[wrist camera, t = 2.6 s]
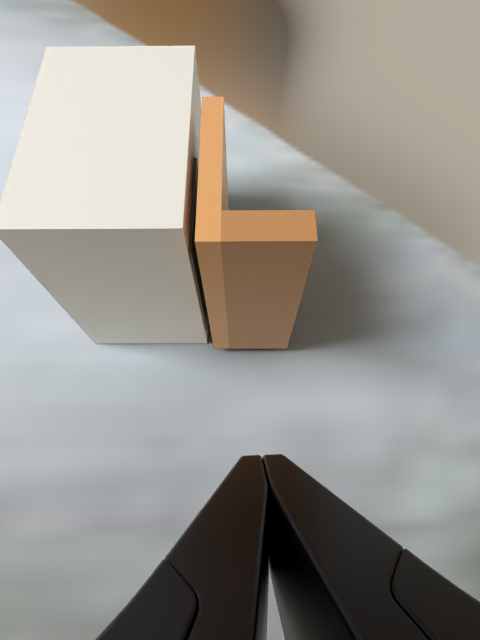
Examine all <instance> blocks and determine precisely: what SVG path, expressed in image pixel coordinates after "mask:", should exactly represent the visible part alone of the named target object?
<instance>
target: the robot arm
mask: <svg viewBox="0 0 480 640" xmlns="http://www.w3.org/2000/svg"><path fill="white" fill-rule="evenodd" d="M269 568H270V573H271V579H272V584H273V588H274V592H275V597H276V601H277V606H278V610H279V615H280V619H281V623H282V628H283V632H284V637H285V640H480V602H479V601H478V600H476V599H475V598H473V597H472V596H470V595H469V594H467V593H466V592H464V591H463V590H461V589H460V588H458V587H457V586H456V585H454V584H453V583H452V582H450V581H449V580H448V579H446V578H445V577H443V576H442V575H441V574H439V573H438V572H437V571H435V570H434V569H432V568H431V567H430V566H428V565H427V564H426V563H424V562H423V561H422V560H420V559H419V558H418V557H417V556H415V555H414V554H413V553H411V552H410V551H409V550H407V549H403V548H402V546H401V545H400V544H398V543H397V542H396V541H394V540H393V539H392V538H390V537H389V536H388V535H387V534H385V533H384V532H383V531H381V530H380V529H379V528H377V527H376V526H375V525H374V524H372V523H371V522H370V521H368V520H367V519H366V518H365V517H363V516H362V515H361V514H359V513H358V512H357V511H355V510H354V509H353V508H352V507H350V506H349V505H348V504H346V503H345V502H344V501H342V500H341V499H340V498H339V497H337V496H336V495H335V494H333V493H332V492H331V491H329V490H328V489H327V488H326V487H324V486H323V485H322V484H320V483H319V482H318V481H316V480H315V479H314V478H313V477H311V476H310V475H309V474H307V473H306V472H305V471H303V470H302V469H301V468H300V467H298V466H297V465H296V464H294V463H293V462H292V461H290V460H289V459H288V458H287V457H285V456H284V455H282V454H276V455H265V456H263V459H262V457H261V456H260V455H251V456H242V457H241V458H240V459H239V460H238V462H237V463H236V464H235V466H234V467H233V468H232V470H231V471H230V472H229V474H228V475H227V476H226V478H225V479H224V480H223V482H222V483H221V484H220V486H219V487H218V488H217V490H216V491H215V492H214V494H213V495H212V496H211V498H210V499H209V500H208V501H207V503H206V504H205V505H204V507H203V508H202V509H201V511H200V512H199V513H198V515H197V516H196V517H195V519H194V520H193V521H192V523H191V524H190V525H189V527H188V528H187V529H186V531H185V532H184V533H183V535H182V536H181V537H180V539H179V540H178V541H177V543H176V544H175V545H174V547H173V548H172V549H171V551H170V552H169V553H168V555H167V556H166V557H165V559H164V560H162V561H161V563H160V564H159V565H158V567H157V568H156V569H155V571H154V572H153V573H152V575H151V576H150V577H149V578H148V580H147V581H146V582H145V583H144V585H143V586H142V587H141V588H140V590H139V591H138V592H137V593H136V595H135V596H134V597H133V598H132V599H131V601H130V602H129V603H128V604H127V605H126V606H125V608H124V609H123V610H122V611H121V612H120V613H119V614H118V615H117V616H116V618H115V619H114V620H113V621H112V622H111V623H110V624H109V625H108V626H107V627H106V629H105V630H104V631H103V632H102V633H101V634H100V635H99V636H98V637H97V638H96V639H95V640H266V638H267V611H268V585H269Z"/></svg>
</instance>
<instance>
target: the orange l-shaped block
mask: <svg viewBox="0 0 480 640" xmlns="http://www.w3.org/2000/svg"><path fill="white" fill-rule="evenodd" d="M317 242H318V238H317V227H316V217H315V210H229V206H228V183H227V161H226V139H225V117H224V97H202V110H201V129H200V149H199V168H198V188H197V207H196V227H195V246H196V252H197V257H198V263H199V268H200V274H201V279H202V285H203V291H204V296H205V302H206V307H207V313H208V318H209V324H210V330H211V335H212V341H213V346H214V349H280V348H287V347H288V344H289V340H290V337H291V333H292V330H293V326H294V323H295V319H296V316H297V312H298V309H299V305H300V302H301V298H302V295H303V291H304V288H305V284H306V281H307V277H308V274H309V270H310V267H311V263H312V260H313V256H314V253H315V249H316V246H317Z"/></svg>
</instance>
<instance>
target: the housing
mask: <svg viewBox="0 0 480 640" xmlns="http://www.w3.org/2000/svg"><path fill="white" fill-rule="evenodd" d="M200 129H201V100H200V91H199V81H198V72H197V61H196V52H195V46H91V47H46V51H45V54H44V57H43V61H42V64H41V67H40V71H39V74H38V77H37V81H36V84H35V87H34V91H33V94H32V97H31V101H30V104H29V107H28V111H27V114H26V117H25V121H24V124H23V127H22V131H21V134H20V137H19V141H18V144H17V147H16V151H15V154H14V157H13V161H12V164H11V167H10V171H9V174H8V177H7V181H6V184H5V187H4V191H3V194H2V197H1V201H0V239H1V240H2V241H3V242H4V243H5V244H6V245H7V247H8V248H9V249H10V250H11V251H12V252H13V253H14V254H15V255H16V257H17V258H18V259H19V260H20V261H21V262H22V263H23V264H24V265H25V266H26V268H27V269H28V270H29V271H30V272H31V273H32V274H33V275H34V276H35V278H36V279H37V280H38V281H39V282H40V283H41V284H42V285H43V286H44V288H45V289H46V290H47V291H48V292H49V293H50V294H51V295H52V296H53V297H54V299H55V300H56V301H57V302H58V303H59V304H60V305H61V306H62V307H63V309H64V310H65V311H66V312H67V313H68V314H69V315H70V316H71V317H72V319H73V320H74V321H75V322H76V323H77V324H78V325H79V326H80V327H81V328H82V330H83V331H84V332H85V333H86V334H87V335H88V336H89V337H90V338H91V340H92V341H93V342H94V343H95V344H149V343H207V336H208V313H207V307H206V302H205V296H204V291H203V285H202V279H201V274H200V268H199V263H198V257H197V252H196V246H195V227H196V207H197V188H198V168H199V149H200Z"/></svg>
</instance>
